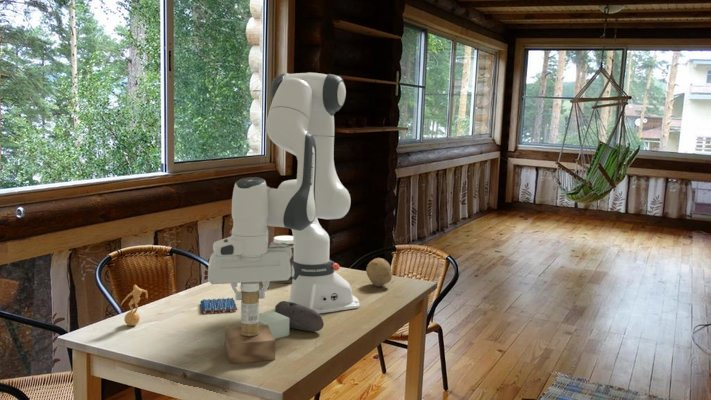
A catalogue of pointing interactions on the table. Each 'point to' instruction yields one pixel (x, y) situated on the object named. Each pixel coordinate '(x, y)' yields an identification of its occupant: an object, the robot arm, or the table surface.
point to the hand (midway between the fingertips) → (249, 298)
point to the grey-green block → (275, 323)
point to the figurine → (133, 316)
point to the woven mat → (218, 305)
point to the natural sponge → (379, 272)
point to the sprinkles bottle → (250, 309)
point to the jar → (288, 241)
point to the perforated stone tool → (300, 316)
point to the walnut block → (249, 345)
